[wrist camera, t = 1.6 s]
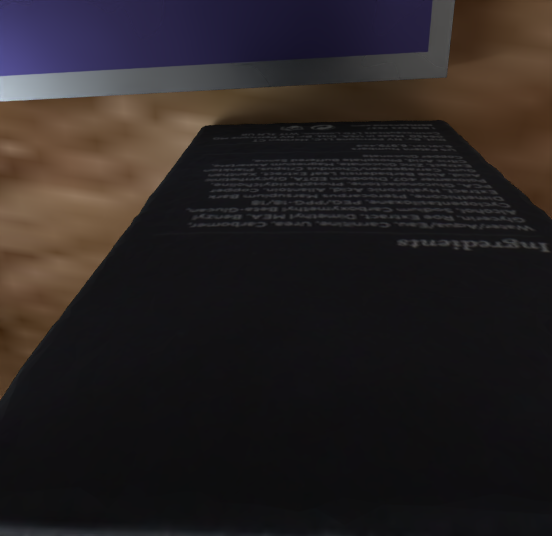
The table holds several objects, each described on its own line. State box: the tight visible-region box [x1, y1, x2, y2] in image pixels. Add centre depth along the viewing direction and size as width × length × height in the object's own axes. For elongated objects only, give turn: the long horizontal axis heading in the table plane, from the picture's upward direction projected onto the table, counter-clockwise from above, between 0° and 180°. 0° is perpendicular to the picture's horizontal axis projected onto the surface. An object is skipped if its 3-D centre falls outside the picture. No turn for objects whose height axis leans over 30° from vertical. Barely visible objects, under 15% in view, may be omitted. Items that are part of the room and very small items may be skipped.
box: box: [0, 120, 552, 536], centre depth 9 cm, size 9×6×10 cm, turn 0°
